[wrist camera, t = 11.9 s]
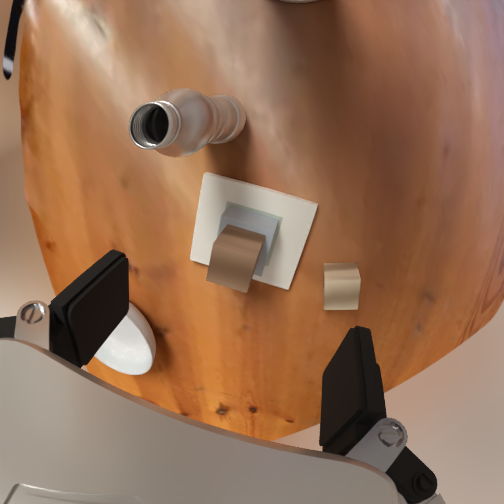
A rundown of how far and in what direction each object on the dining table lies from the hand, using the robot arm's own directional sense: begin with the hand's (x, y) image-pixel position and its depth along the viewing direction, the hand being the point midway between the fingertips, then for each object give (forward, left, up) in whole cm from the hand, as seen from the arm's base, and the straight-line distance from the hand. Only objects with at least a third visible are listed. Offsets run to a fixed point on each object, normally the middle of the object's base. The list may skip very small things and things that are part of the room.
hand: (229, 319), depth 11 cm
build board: (+10, -3, -30) cm, 32 cm away
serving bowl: (+38, -25, -31) cm, 55 cm away
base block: (+10, -3, -29) cm, 31 cm away
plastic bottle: (-5, -10, -31) cm, 32 cm away
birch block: (+13, +12, -30) cm, 35 cm away
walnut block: (+10, -3, -25) cm, 27 cm away
